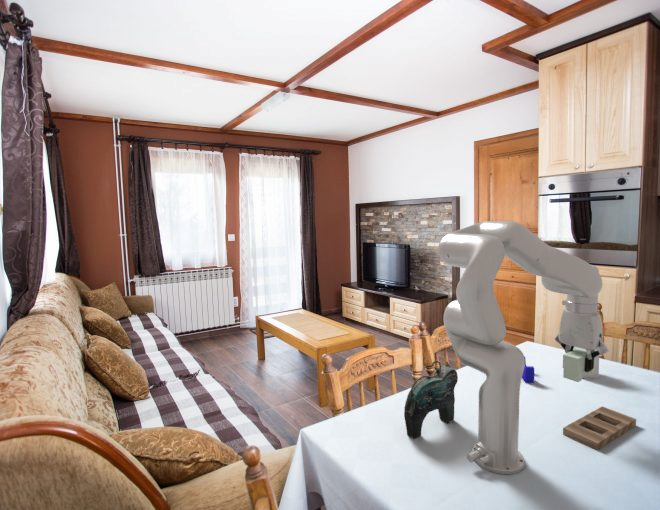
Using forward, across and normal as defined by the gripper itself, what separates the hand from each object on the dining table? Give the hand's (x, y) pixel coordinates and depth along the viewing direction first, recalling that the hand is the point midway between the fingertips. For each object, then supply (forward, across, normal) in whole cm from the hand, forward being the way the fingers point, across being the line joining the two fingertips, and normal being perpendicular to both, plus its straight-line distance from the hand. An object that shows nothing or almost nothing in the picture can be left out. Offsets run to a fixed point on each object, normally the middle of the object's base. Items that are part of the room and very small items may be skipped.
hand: (579, 367), depth 113 cm
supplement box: (+18, -16, +39) cm, 46 cm away
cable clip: (+18, -29, +19) cm, 39 cm away
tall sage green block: (+2, 0, 0) cm, 2 cm away
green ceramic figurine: (+17, -24, -36) cm, 46 cm away
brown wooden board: (+18, +5, +2) cm, 19 cm away
